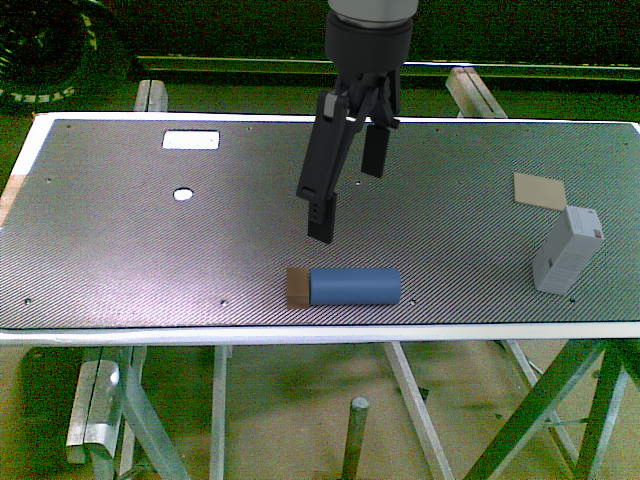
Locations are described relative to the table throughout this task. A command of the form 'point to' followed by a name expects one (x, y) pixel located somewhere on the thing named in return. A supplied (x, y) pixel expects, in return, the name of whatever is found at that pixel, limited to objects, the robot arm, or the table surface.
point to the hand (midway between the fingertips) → (347, 203)
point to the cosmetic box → (567, 250)
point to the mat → (539, 191)
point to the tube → (354, 286)
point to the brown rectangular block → (297, 288)
